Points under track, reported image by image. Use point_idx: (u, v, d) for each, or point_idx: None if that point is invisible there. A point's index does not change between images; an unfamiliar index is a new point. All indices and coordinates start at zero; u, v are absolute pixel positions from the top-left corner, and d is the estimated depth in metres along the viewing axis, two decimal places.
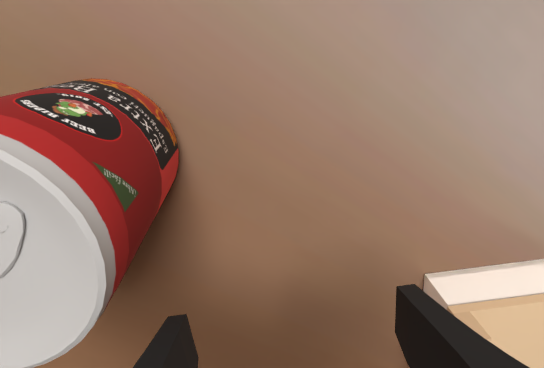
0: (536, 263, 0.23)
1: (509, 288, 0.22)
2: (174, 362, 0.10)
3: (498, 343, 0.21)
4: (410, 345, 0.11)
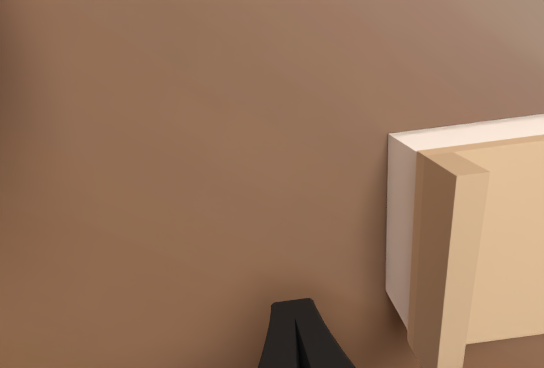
0: None
1: (518, 134, 0.13)
2: (296, 346, 0.10)
3: (502, 218, 0.13)
4: (300, 360, 0.11)
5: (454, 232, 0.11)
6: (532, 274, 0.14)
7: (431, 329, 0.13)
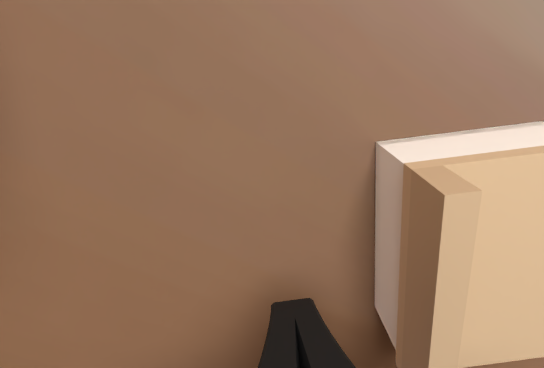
0: None
1: (515, 144, 0.12)
2: (296, 346, 0.10)
3: (496, 237, 0.12)
4: (300, 360, 0.11)
5: (442, 256, 0.10)
6: (530, 295, 0.13)
7: (419, 357, 0.12)
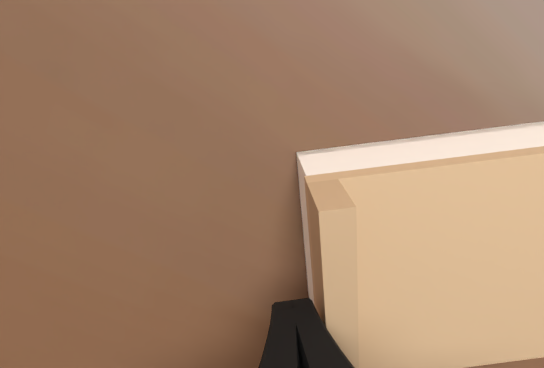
0: (478, 132, 0.14)
1: (422, 156, 0.12)
2: (297, 346, 0.10)
3: (402, 249, 0.12)
4: None
5: (326, 271, 0.10)
6: (444, 306, 0.13)
7: None
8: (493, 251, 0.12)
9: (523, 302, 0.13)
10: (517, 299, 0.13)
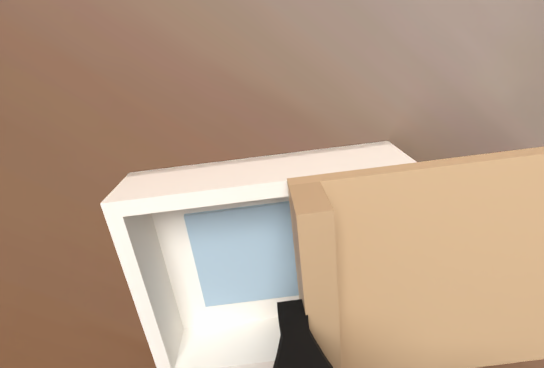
0: (310, 153, 0.14)
1: (228, 180, 0.12)
2: None
3: (387, 252, 0.12)
4: None
5: (306, 275, 0.10)
6: (430, 309, 0.13)
7: None
8: (479, 254, 0.12)
9: (511, 305, 0.13)
10: (504, 303, 0.13)
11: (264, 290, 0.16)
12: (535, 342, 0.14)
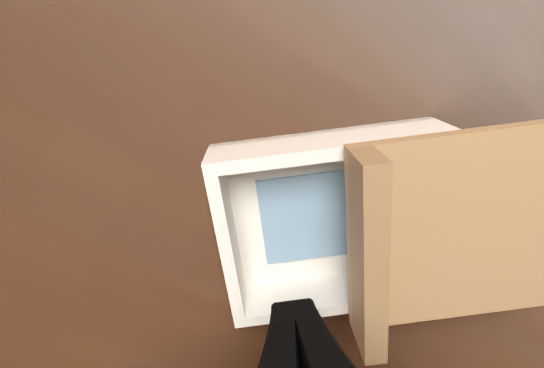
0: (365, 126, 0.16)
1: (303, 146, 0.15)
2: (297, 346, 0.10)
3: (424, 206, 0.14)
4: (300, 360, 0.11)
5: (366, 217, 0.12)
6: (458, 258, 0.15)
7: (359, 307, 0.14)
8: (500, 209, 0.14)
9: (526, 255, 0.16)
10: (520, 252, 0.15)
11: (319, 249, 0.19)
12: None
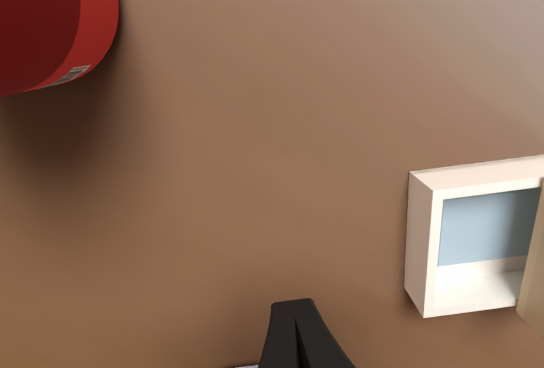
0: (534, 157, 0.21)
1: (503, 176, 0.19)
2: (296, 346, 0.10)
3: None
4: (300, 360, 0.11)
5: None
6: None
7: None
8: None
9: None
10: None
11: (481, 254, 0.23)
12: None
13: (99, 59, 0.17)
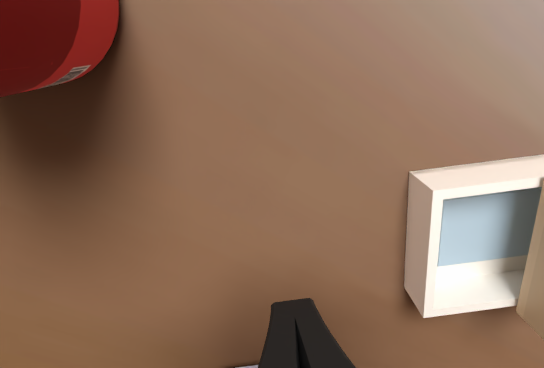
0: (534, 157, 0.21)
1: (503, 176, 0.19)
2: (296, 346, 0.10)
3: None
4: (300, 360, 0.11)
5: None
6: None
7: None
8: None
9: None
10: None
11: (481, 254, 0.23)
12: None
13: (99, 59, 0.17)
